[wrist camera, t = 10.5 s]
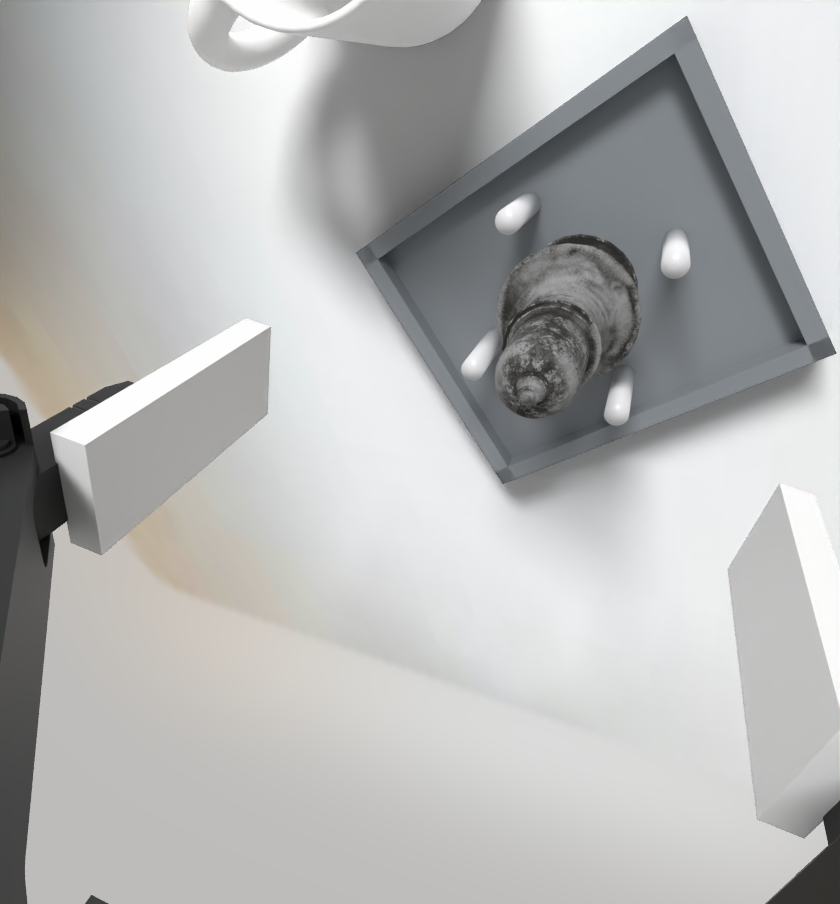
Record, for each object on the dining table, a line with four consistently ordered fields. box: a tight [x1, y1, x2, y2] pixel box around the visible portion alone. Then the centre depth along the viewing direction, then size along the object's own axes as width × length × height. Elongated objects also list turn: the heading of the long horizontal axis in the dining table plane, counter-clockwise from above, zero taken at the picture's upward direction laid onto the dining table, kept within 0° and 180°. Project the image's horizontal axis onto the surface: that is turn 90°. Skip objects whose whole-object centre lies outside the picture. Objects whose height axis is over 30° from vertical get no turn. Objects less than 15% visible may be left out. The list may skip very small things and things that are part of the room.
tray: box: [356, 16, 836, 484], centre depth 28 cm, size 14×16×6 cm
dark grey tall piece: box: [495, 234, 642, 419], centre depth 24 cm, size 6×6×12 cm
